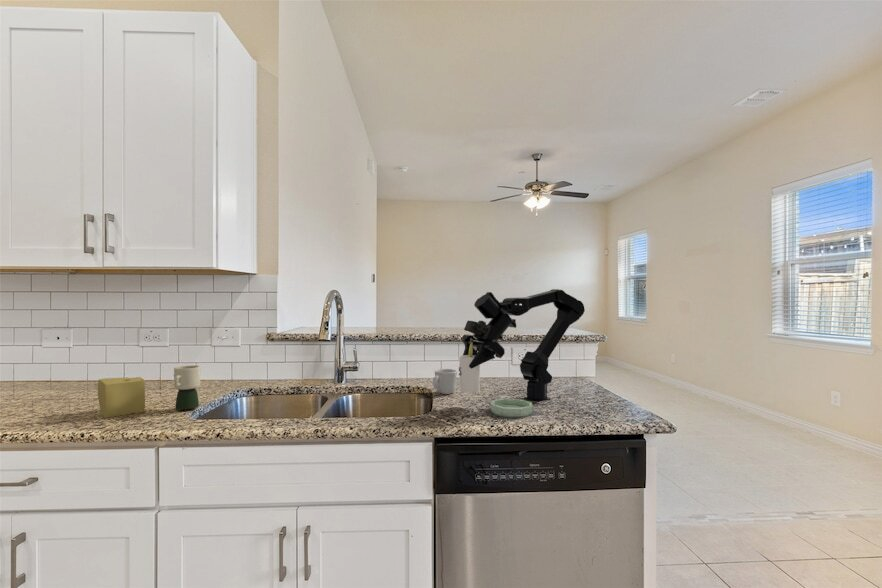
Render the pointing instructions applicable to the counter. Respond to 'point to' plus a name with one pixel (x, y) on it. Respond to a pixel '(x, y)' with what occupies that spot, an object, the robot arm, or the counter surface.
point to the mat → (512, 417)
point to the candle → (469, 373)
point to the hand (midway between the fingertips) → (465, 366)
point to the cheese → (121, 396)
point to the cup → (445, 380)
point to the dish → (511, 407)
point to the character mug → (187, 386)
